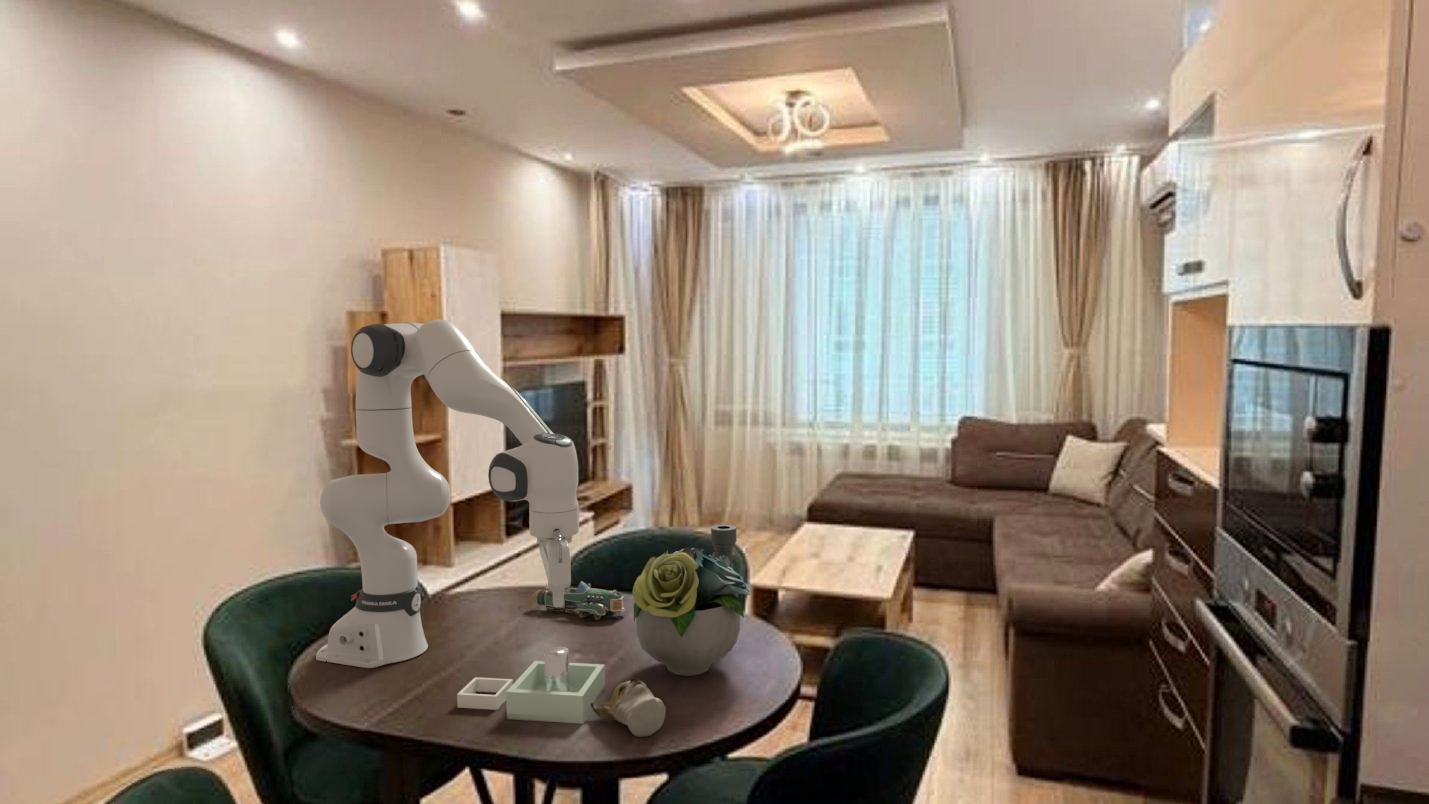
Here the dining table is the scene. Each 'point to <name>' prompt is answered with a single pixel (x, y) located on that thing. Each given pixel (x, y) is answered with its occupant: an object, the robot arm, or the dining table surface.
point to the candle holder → (724, 541)
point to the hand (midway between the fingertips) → (555, 597)
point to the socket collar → (484, 701)
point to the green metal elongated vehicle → (584, 601)
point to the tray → (556, 694)
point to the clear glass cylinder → (557, 669)
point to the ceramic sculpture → (633, 708)
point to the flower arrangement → (688, 609)
